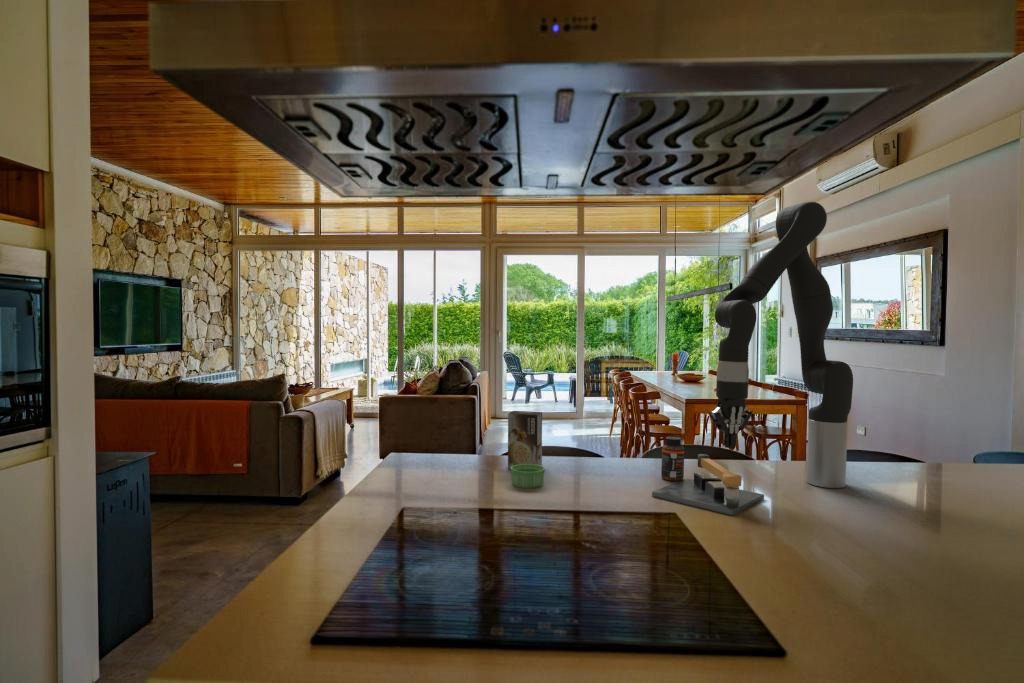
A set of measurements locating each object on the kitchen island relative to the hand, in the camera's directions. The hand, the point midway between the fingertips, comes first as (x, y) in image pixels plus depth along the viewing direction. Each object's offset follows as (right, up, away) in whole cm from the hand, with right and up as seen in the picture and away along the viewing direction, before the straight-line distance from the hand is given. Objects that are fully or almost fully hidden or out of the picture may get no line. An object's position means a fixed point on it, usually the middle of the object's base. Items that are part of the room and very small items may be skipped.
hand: (729, 447), depth 148 cm
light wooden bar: (-5, -6, -6) cm, 10 cm away
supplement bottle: (-11, -11, +12) cm, 20 cm away
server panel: (-7, -11, -6) cm, 15 cm away
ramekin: (-51, -11, +4) cm, 52 cm away
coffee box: (-51, -10, +22) cm, 57 cm away
